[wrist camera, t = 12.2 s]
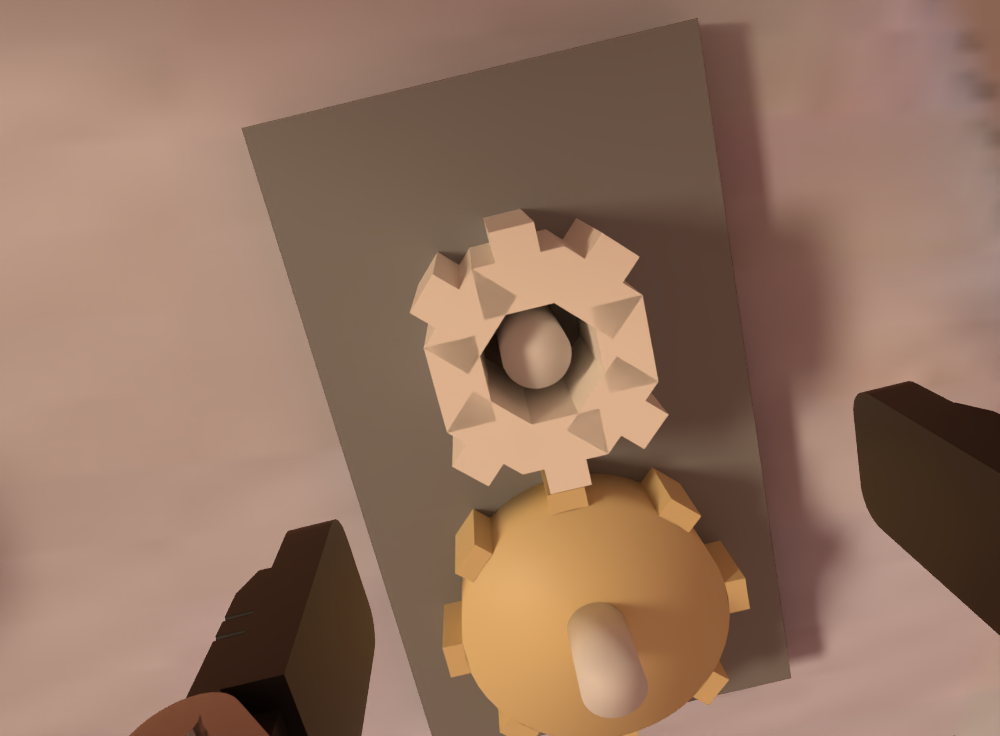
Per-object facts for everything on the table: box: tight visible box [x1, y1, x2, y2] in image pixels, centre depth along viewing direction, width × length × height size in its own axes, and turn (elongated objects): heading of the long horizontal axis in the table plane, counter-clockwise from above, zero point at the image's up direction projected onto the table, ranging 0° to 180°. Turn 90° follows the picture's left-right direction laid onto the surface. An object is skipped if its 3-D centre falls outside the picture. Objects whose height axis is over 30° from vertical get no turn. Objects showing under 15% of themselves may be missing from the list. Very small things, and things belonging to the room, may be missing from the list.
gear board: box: [242, 18, 791, 736], centre depth 24 cm, size 24×14×7 cm, turn 13°
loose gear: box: [410, 209, 669, 494], centre depth 23 cm, size 8×6×4 cm
